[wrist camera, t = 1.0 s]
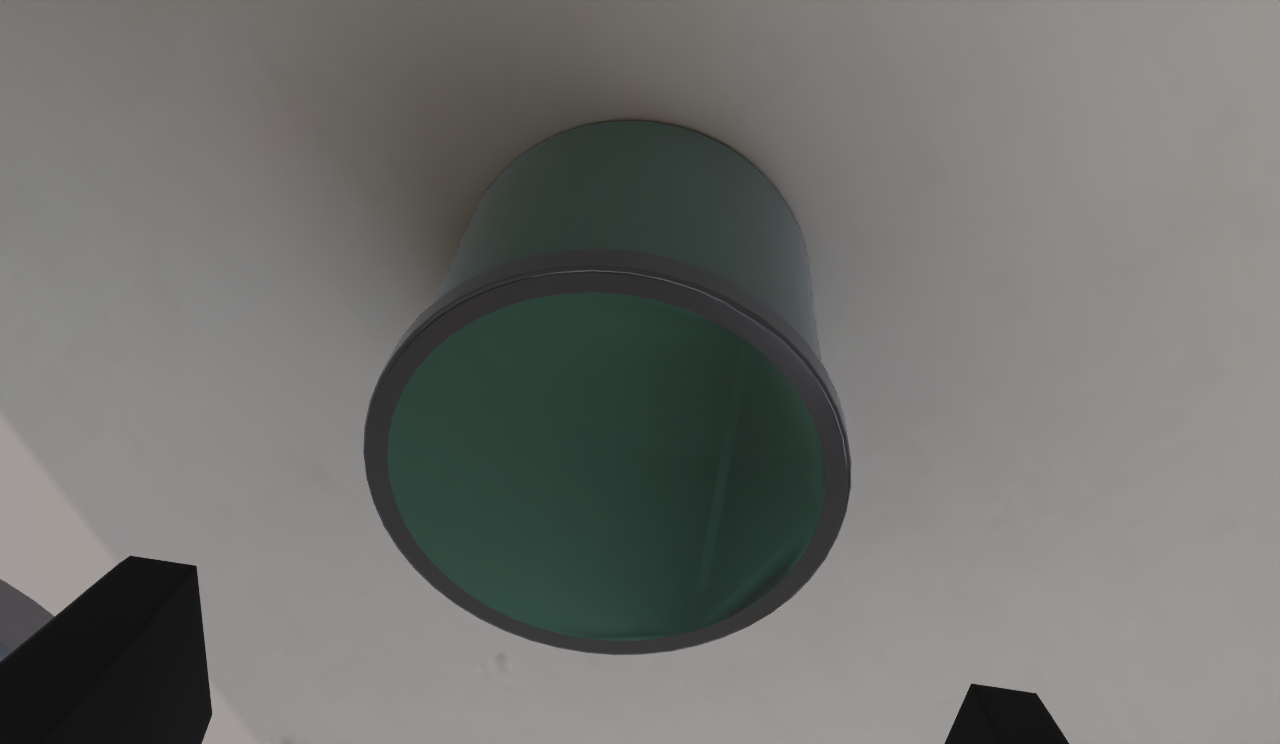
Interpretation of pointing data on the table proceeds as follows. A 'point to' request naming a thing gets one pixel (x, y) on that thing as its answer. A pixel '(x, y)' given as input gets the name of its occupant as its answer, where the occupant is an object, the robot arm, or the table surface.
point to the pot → (616, 401)
